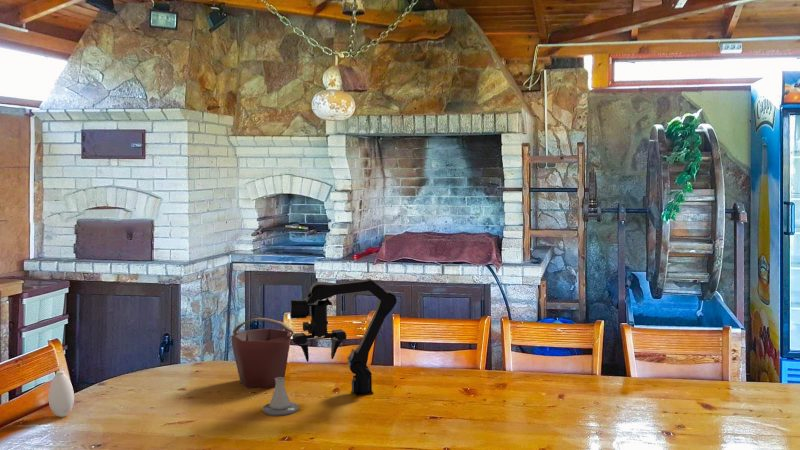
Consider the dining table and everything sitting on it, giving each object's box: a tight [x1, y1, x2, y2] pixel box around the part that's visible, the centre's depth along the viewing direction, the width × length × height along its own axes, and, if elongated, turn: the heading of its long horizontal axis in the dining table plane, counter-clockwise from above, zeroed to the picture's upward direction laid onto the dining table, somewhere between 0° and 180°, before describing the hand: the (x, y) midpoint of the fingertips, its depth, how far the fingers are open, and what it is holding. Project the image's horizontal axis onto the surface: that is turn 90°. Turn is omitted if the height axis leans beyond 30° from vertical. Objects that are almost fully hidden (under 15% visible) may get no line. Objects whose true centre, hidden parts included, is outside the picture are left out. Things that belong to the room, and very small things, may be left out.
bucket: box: [231, 317, 295, 390], centre depth 288 cm, size 24×22×25 cm
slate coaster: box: [262, 401, 299, 417], centre depth 257 cm, size 12×12×1 cm
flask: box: [269, 377, 292, 410], centre depth 257 cm, size 7×7×10 cm
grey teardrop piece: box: [48, 363, 75, 418], centre depth 252 cm, size 8×8×18 cm
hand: (319, 360), depth 272 cm, fingers open, 9 cm apart
